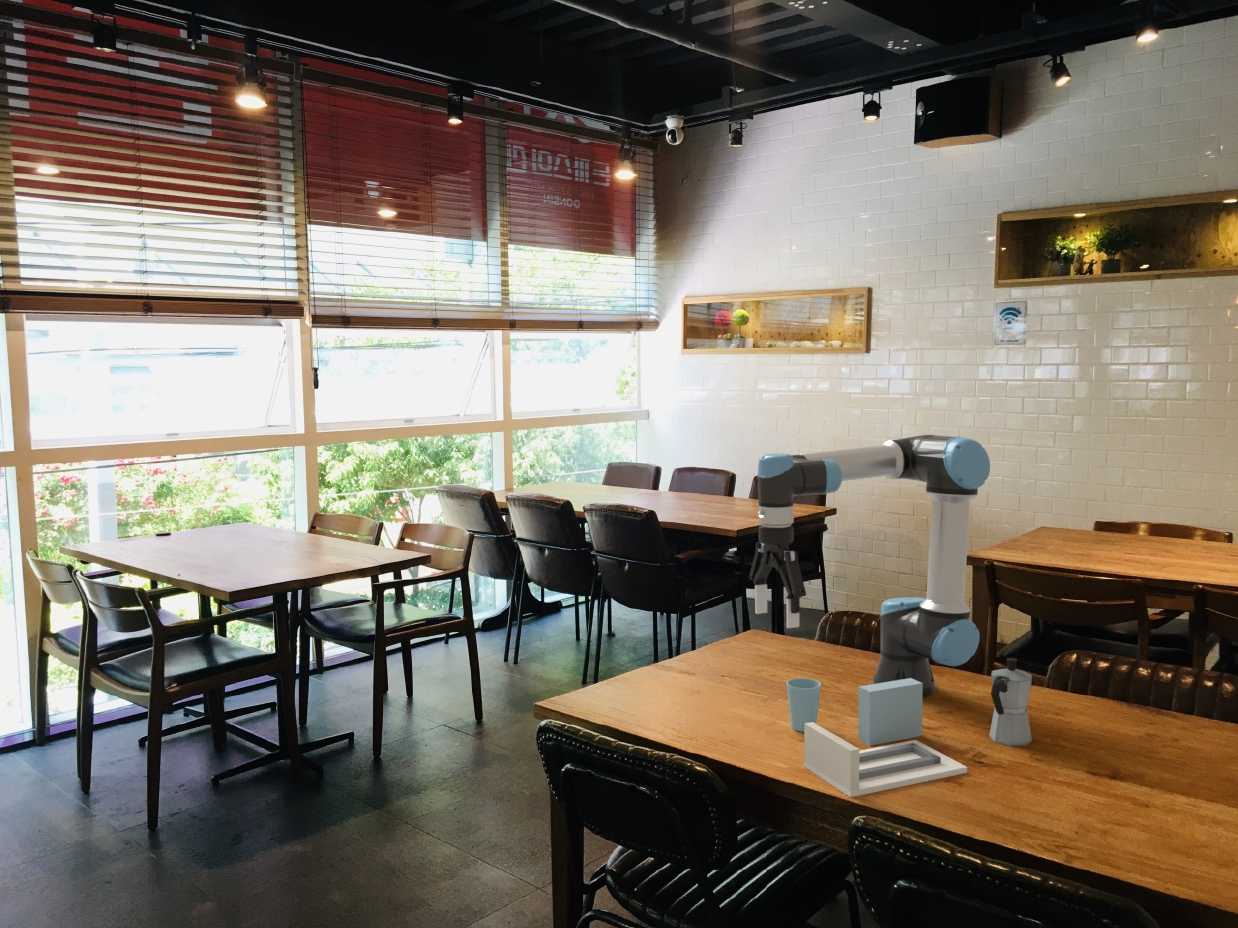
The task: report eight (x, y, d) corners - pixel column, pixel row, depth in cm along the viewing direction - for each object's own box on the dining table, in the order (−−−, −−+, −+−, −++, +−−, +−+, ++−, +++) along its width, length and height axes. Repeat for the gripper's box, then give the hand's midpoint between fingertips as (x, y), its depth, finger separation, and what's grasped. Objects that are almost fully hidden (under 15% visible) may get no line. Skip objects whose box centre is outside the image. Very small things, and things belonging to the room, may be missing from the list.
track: (915, 745, 215) (915, 703, 214) (967, 772, 200) (967, 728, 199) (804, 766, 204) (804, 723, 204) (850, 797, 190) (850, 750, 189)
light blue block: (910, 729, 224) (910, 677, 223) (921, 735, 220) (922, 683, 219) (858, 739, 219) (858, 686, 218) (869, 745, 215) (869, 691, 214)
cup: (828, 730, 224) (827, 685, 223) (799, 735, 221) (799, 690, 220) (808, 719, 231) (808, 676, 230) (780, 725, 228) (780, 680, 227)
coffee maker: (1003, 726, 225) (1005, 648, 223) (1042, 736, 219) (1044, 656, 217) (972, 744, 215) (974, 663, 213) (1012, 755, 208) (1014, 671, 207)
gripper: (733, 518, 227) (734, 609, 229) (791, 534, 204) (791, 635, 206) (762, 515, 230) (763, 605, 232) (822, 531, 207) (822, 631, 209)
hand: (776, 620), depth 219 cm, fingers open, 13 cm apart
